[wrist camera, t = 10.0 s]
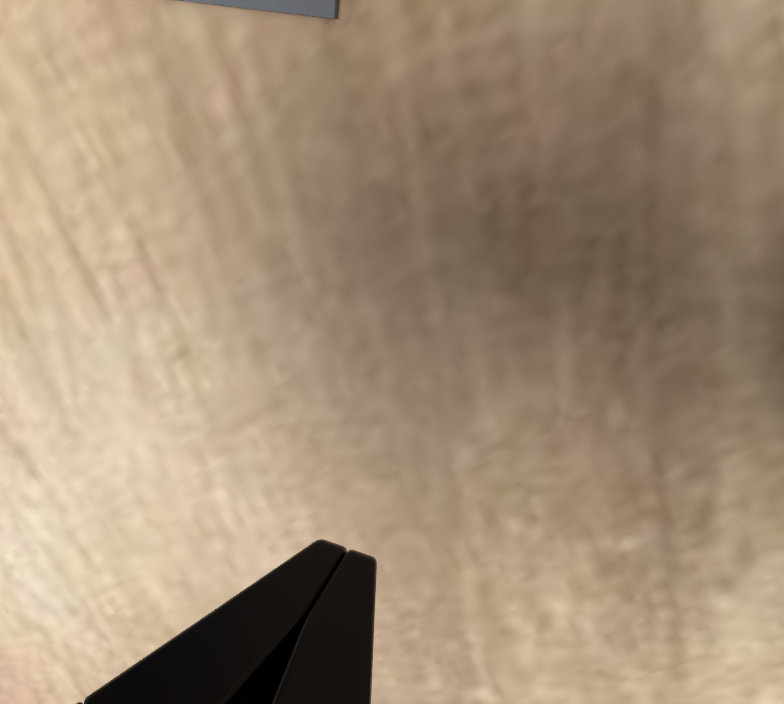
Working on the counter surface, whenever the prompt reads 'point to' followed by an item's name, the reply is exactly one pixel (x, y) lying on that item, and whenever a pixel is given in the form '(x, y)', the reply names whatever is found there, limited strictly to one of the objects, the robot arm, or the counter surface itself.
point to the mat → (284, 6)
